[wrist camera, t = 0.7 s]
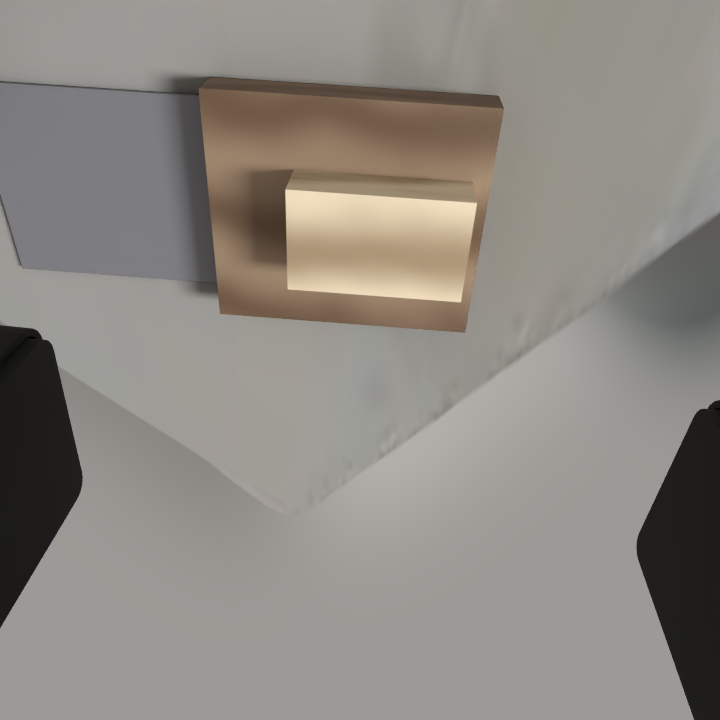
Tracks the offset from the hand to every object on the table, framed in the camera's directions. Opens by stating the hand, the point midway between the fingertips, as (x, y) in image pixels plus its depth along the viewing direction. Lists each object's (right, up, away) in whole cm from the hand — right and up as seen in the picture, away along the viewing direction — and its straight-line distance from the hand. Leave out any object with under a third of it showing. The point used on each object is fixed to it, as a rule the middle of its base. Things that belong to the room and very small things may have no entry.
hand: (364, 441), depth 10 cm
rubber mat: (-16, +12, +30) cm, 36 cm away
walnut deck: (-1, +11, +30) cm, 32 cm away
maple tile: (+1, +9, +28) cm, 29 cm away
